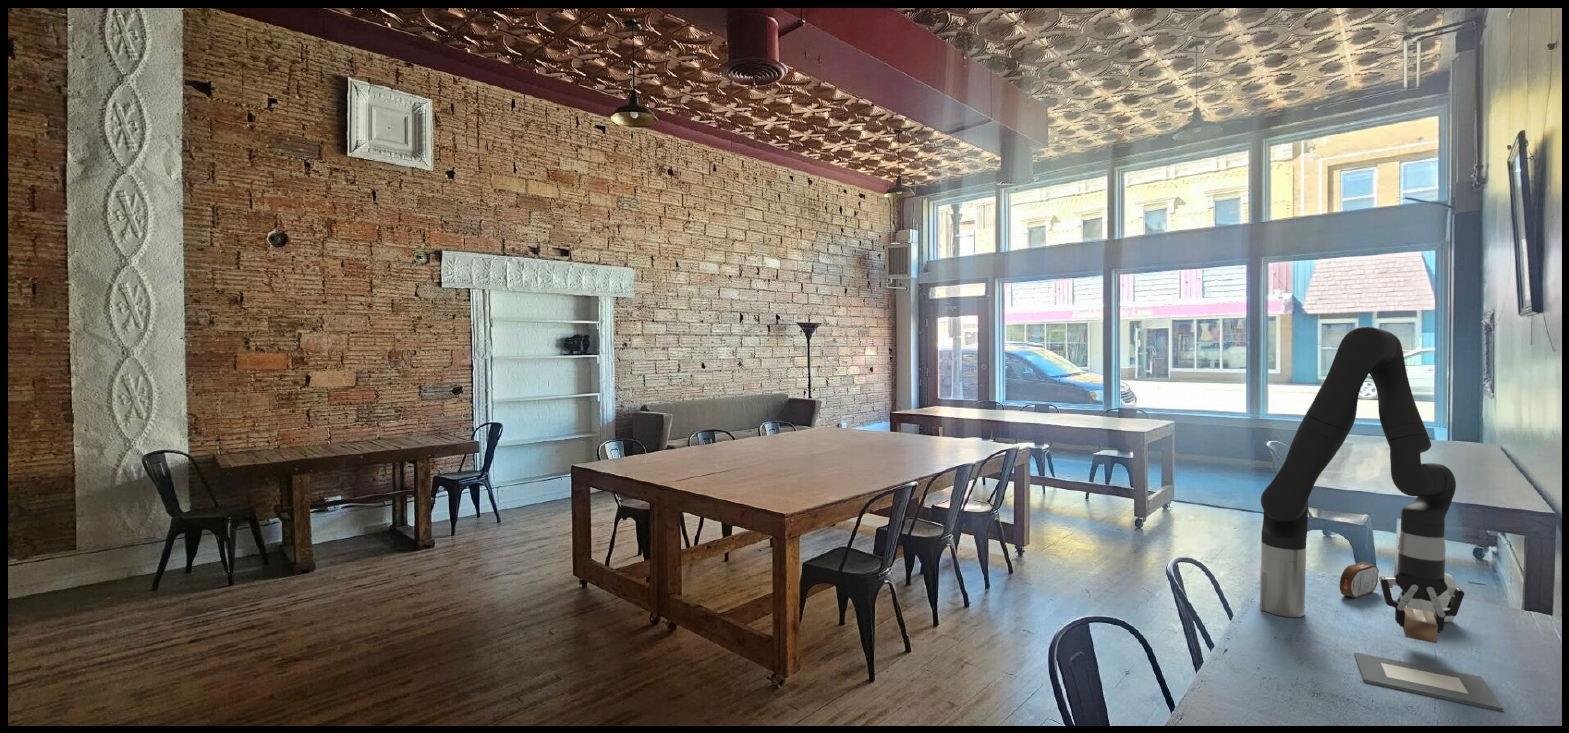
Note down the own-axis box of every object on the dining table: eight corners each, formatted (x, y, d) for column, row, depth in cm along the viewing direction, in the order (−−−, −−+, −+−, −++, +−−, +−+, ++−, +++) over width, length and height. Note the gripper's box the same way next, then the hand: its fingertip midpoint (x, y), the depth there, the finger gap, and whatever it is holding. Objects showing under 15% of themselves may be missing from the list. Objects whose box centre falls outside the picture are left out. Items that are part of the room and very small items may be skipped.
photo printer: (1438, 615, 170) (1439, 567, 169) (1457, 622, 166) (1459, 572, 165) (1402, 618, 168) (1404, 569, 168) (1421, 625, 164) (1422, 575, 164)
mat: (1363, 682, 138) (1364, 678, 138) (1354, 655, 150) (1354, 651, 150) (1503, 711, 127) (1503, 708, 127) (1481, 679, 138) (1481, 676, 138)
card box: (1405, 637, 148) (1406, 619, 148) (1401, 623, 155) (1402, 606, 155) (1437, 643, 145) (1437, 625, 145) (1431, 629, 152) (1432, 611, 152)
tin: (1366, 588, 188) (1367, 558, 188) (1380, 592, 185) (1381, 561, 185) (1337, 598, 182) (1338, 567, 181) (1351, 602, 179) (1352, 570, 178)
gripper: (1381, 552, 150) (1379, 627, 151) (1471, 564, 142) (1468, 643, 143) (1375, 543, 156) (1373, 615, 157) (1461, 554, 148) (1459, 630, 149)
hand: (1419, 628), depth 150 cm, fingers closed on card box, 5 cm apart
